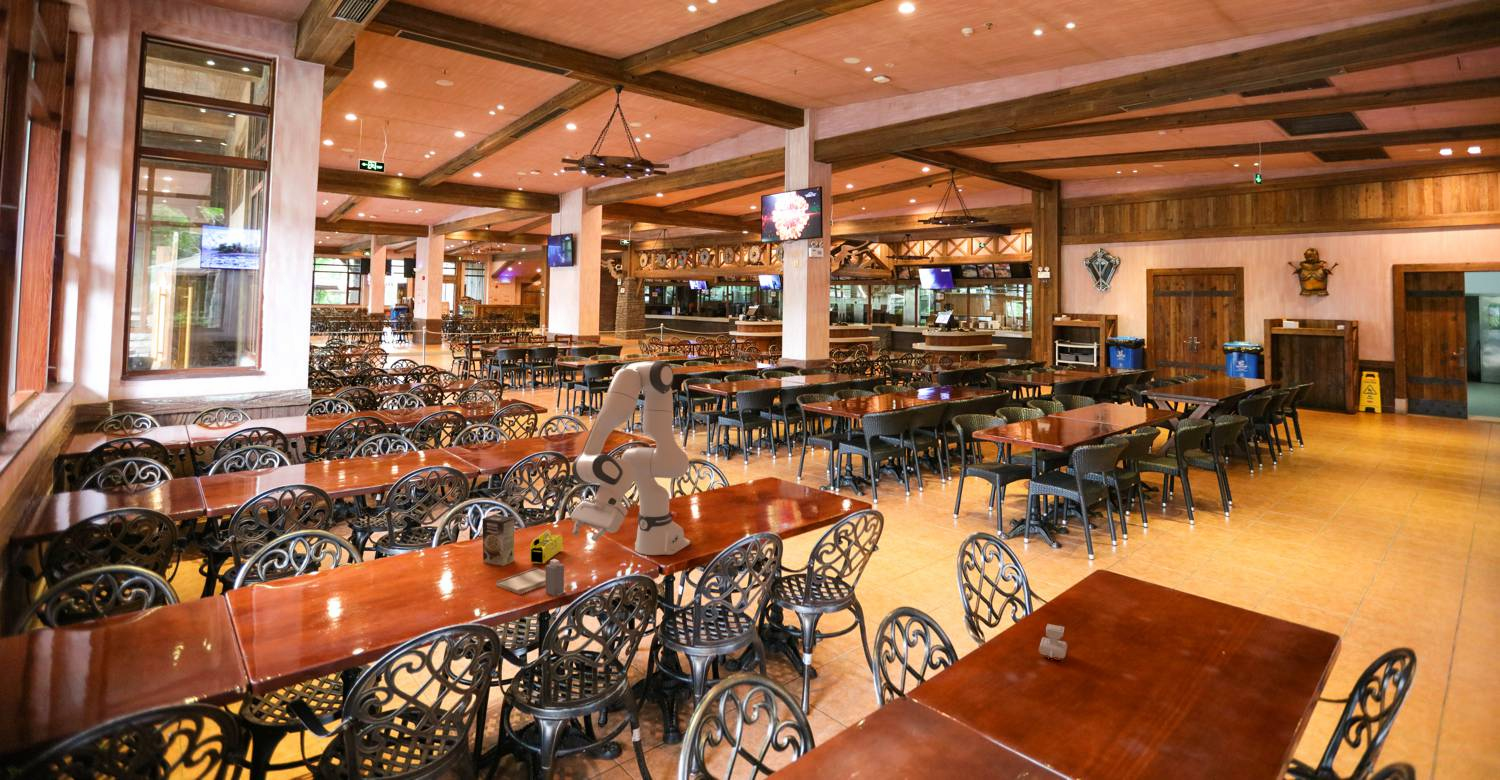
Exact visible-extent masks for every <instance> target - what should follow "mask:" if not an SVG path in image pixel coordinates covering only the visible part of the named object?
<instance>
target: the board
mask: <svg viewBox="0 0 1500 780" xmlns="http://www.w3.org/2000/svg"><path fill="white" fill-rule="evenodd" d="M495 583H496V585H495V586H497V587H498V588H501V589H504V590H506V591H509V592H511V591H512V592H511V593H514V594H516V593H517V595H519V594H521V595H524V594H526V593H528V591H529V592H531V590H532V591H534V590H537V589H540V588H542V587H546V571H545V570H544V569H543V570H542V569H540V568H538V567H533V568H530V569H528V570H525V571H522V572H520V573H517V574H513V575H510V576H507V577H505V578H501V579H499V580H496V582H495ZM536 588H537V589H536ZM533 589H534V590H533ZM525 592H526V593H525ZM523 593H524V594H523Z"/></svg>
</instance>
